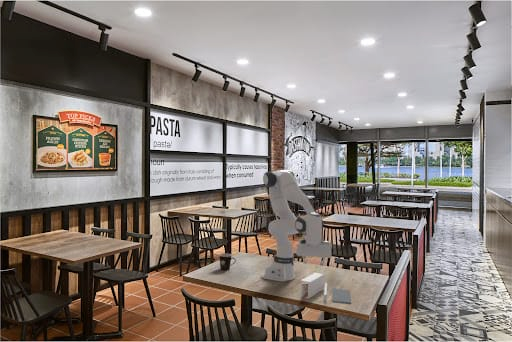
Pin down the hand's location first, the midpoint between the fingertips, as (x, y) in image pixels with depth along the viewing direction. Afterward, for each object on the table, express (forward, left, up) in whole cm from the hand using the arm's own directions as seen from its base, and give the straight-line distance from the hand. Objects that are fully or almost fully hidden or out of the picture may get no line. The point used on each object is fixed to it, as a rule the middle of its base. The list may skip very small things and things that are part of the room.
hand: (313, 264), depth 204 cm
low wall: (+7, 0, -17) cm, 19 cm away
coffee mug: (-62, +30, -17) cm, 71 cm away
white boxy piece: (-1, 0, -18) cm, 17 cm away
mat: (+16, 0, -17) cm, 24 cm away
